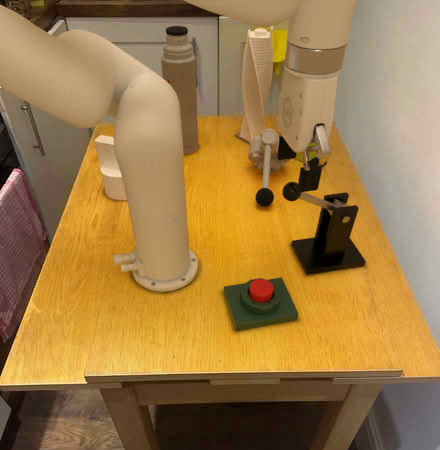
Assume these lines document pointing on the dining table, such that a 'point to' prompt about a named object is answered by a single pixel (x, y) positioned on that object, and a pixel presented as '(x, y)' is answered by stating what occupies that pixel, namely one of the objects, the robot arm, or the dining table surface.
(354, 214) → the bracket
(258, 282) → the button
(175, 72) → the thermos bottle
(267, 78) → the skyscraper
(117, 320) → the dining table surface
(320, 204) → the lever
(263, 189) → the mechanical valve
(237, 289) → the button box
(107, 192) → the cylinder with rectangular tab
